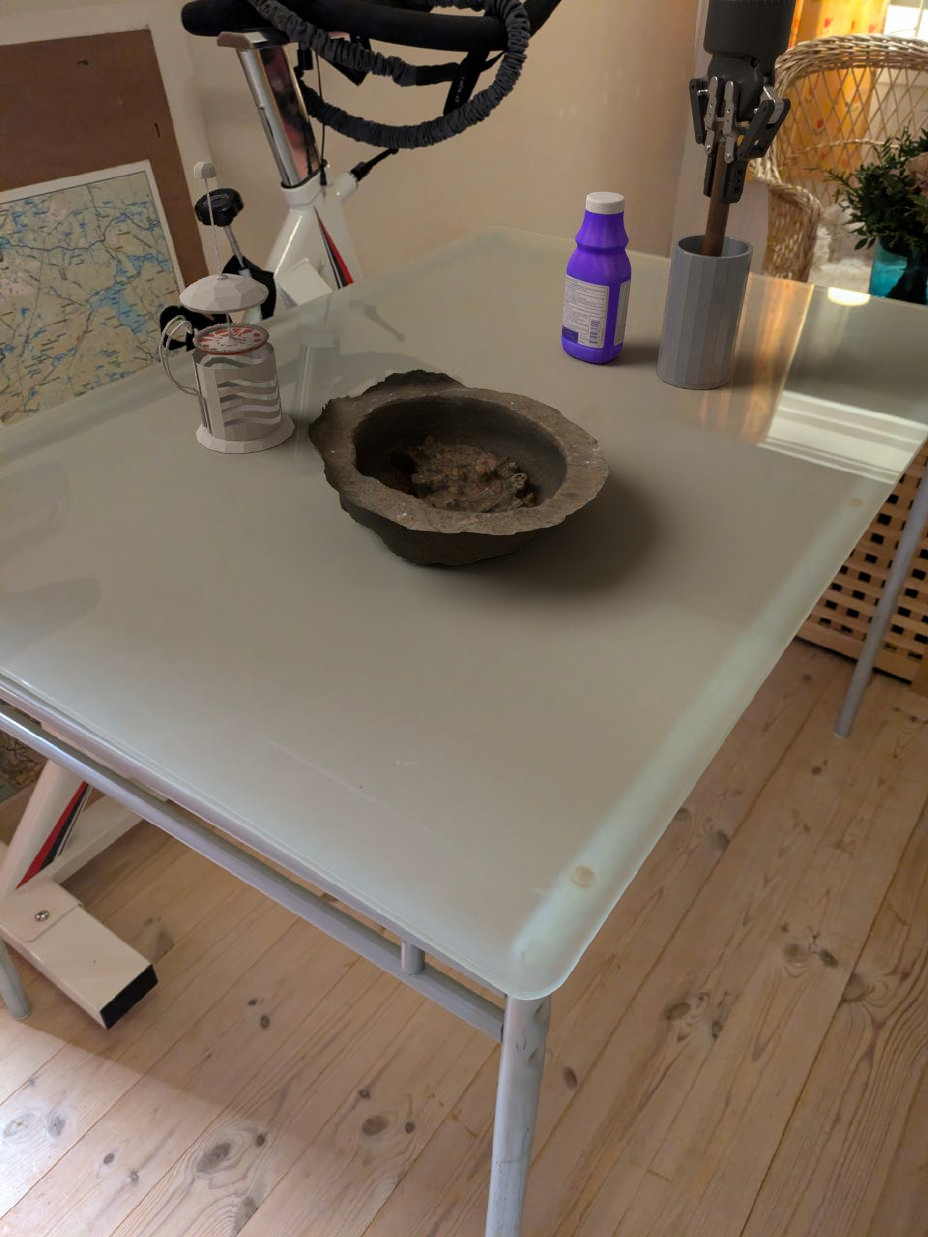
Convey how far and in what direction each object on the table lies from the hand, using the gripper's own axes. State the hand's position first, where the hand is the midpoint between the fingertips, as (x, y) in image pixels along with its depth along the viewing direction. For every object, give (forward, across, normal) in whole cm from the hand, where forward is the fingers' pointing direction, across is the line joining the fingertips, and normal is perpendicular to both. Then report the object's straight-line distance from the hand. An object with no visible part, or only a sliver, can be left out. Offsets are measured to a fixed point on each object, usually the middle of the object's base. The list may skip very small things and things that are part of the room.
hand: (720, 198), depth 95 cm
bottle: (+19, +9, +8) cm, 22 cm away
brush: (+17, 0, 0) cm, 17 cm away
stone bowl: (+19, -18, +35) cm, 44 cm away
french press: (+19, +5, +50) cm, 54 cm away
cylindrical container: (+19, 0, 0) cm, 19 cm away
